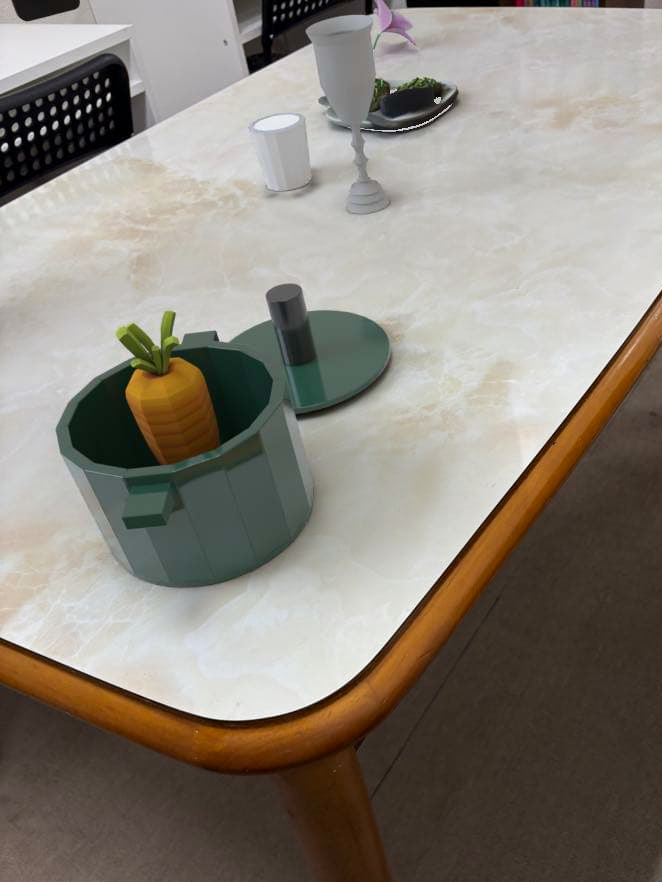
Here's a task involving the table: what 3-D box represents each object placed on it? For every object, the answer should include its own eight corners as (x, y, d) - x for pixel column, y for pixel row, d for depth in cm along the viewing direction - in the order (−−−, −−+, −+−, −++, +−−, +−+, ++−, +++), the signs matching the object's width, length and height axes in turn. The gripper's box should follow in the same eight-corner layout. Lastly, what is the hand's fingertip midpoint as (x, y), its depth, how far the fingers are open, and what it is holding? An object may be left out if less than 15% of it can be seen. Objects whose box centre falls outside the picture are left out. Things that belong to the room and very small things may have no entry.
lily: (413, 69, 136) (431, 1, 132) (341, 45, 134) (358, -25, 130) (413, 74, 147) (430, 11, 143) (347, 51, 145) (362, -13, 141)
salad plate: (289, 132, 118) (281, 97, 115) (357, 89, 129) (352, 55, 126) (409, 141, 110) (405, 103, 107) (472, 94, 120) (469, 58, 117)
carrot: (236, 475, 63) (172, 288, 53) (251, 515, 60) (186, 323, 49) (170, 497, 62) (92, 311, 52) (182, 539, 59) (101, 348, 48)
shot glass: (276, 170, 109) (263, 111, 104) (325, 170, 106) (314, 110, 102) (252, 192, 104) (237, 132, 99) (302, 193, 102) (289, 132, 97)
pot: (77, 628, 54) (11, 518, 48) (143, 438, 69) (100, 334, 62) (302, 607, 53) (266, 492, 47) (321, 418, 68) (296, 311, 61)
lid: (199, 431, 69) (171, 354, 64) (226, 331, 80) (204, 260, 75) (391, 410, 67) (378, 330, 63) (391, 311, 79) (380, 237, 74)
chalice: (351, 190, 101) (322, 16, 88) (405, 191, 99) (383, 12, 86) (328, 217, 96) (294, 38, 83) (385, 218, 94) (358, 34, 81)
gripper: (-243, -422, 40) (-61, -1, 52) (-244, -527, 28) (-9, 45, 40) (-80, -438, 42) (60, -31, 54) (-19, -540, 31) (142, 6, 42)
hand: (30, 2), depth 47 cm, fingers open, 9 cm apart
